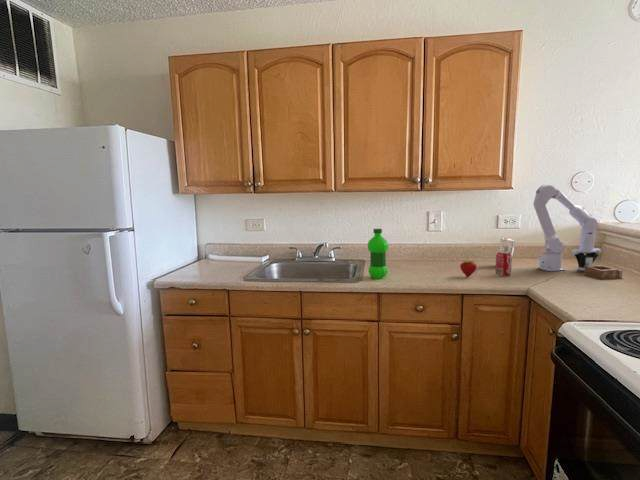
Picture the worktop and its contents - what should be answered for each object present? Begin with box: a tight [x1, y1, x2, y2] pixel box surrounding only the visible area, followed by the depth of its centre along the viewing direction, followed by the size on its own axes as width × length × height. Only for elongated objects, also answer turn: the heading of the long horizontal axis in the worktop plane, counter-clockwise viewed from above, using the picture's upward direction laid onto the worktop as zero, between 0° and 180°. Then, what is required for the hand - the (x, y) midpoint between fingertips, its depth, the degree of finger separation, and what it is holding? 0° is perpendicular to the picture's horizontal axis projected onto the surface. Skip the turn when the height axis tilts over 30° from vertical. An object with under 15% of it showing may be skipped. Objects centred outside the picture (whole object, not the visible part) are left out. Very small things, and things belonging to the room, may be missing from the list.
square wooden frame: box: [583, 264, 620, 280], centre depth 169 cm, size 9×9×4 cm
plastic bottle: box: [367, 228, 389, 280], centre depth 179 cm, size 10×10×25 cm
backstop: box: [617, 269, 623, 279], centre depth 170 cm, size 2×10×4 cm, turn 6°
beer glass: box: [499, 237, 515, 257], centre depth 194 cm, size 7×7×15 cm
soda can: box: [495, 250, 513, 278], centre depth 176 cm, size 7×7×12 cm
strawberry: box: [459, 259, 477, 278], centre depth 175 cm, size 6×8×10 cm
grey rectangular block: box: [577, 256, 594, 272], centre depth 180 cm, size 4×4×7 cm
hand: (585, 267), depth 181 cm, fingers closed on grey rectangular block, 4 cm apart
